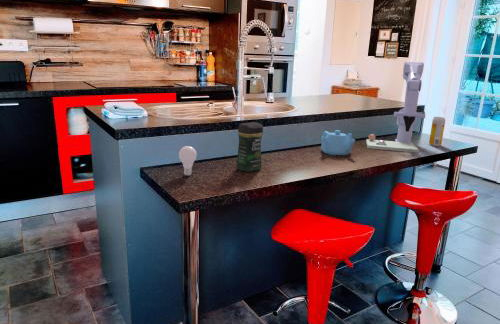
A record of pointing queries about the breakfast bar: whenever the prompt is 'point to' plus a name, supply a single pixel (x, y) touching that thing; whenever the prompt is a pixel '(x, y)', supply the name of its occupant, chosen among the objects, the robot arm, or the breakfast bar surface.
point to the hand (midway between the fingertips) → (407, 131)
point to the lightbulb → (187, 158)
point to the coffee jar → (249, 146)
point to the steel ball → (381, 142)
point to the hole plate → (392, 146)
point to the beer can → (437, 131)
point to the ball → (371, 137)
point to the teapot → (336, 143)
